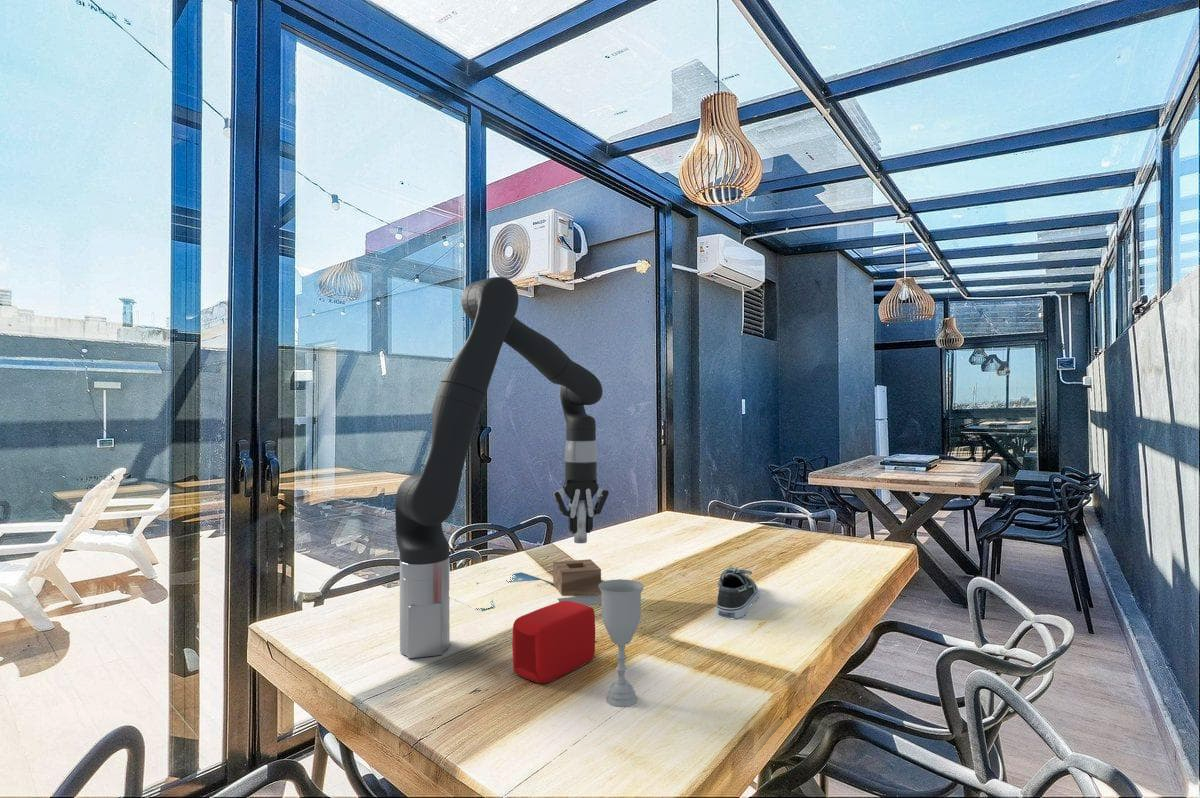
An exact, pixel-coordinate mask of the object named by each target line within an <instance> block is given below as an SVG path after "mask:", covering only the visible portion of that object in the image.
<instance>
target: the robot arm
mask: <svg viewBox="0 0 1200 798" xmlns="http://www.w3.org/2000/svg"><path fill="white" fill-rule="evenodd" d="M460 300H461V302H460V303H461V307H462V310H463V312H464V313H465V315H466V316H467V317H468V319H470V320H471V321H473V325H472V328H471V330H470V333H469V336H468V337H467V339H466V341H465V343H464V344H463V345H462V346H461V348H460V350H459V351H458V352H457V354H455V356H454V358H453V359H452V361H451V362H450V363H449V365H448V366H447V368H446V370H445V371H444V373H443V375H442V378H441V380H440V384H439V387H438V389H437V392H436V395H435V399H434V402H433V406H432V413H431V415H432V417H431V421H432V422H431V426H432V427H431V445H430V449H429V452H428V456H427V460H426V462H425V465H424V467H423V470H422V472H421V473H417V474H413V475H412V474H411V475H409V476H408V477H406V478H405V479H404V480H403V481H402V482H401V483H400V484H399V486H398V489H397V491H396V495H395V504H394V506H395V507H394V516H395V517H394V518H395V538H396V544H397V548H398V552H399V652H400V653H401V654H402V655H404V656H406V657H407V659H414V658H415V659H416V658H424V657H432V656H433V657H435V656H442V654H443V652H445V651H446V650H448V648H449V647H450V639H451V638H450V630H451V629H450V597H449V590H450V543H449V541H448V540H447V537H446V536H445V533H444V530H443V525H442V523H444V522H445V521H447V519H448V518H450V516H451V515H452V513H453V510H454V509H455V506H456V504H457V503H456V502H457V499H458V494H459V489H460V485H461V480H462V477H463V476H462V474H463V470H464V466H465V461H466V458H467V455H468V451H469V449H470V445H471V443H472V439H473V437H474V433H475V430H476V427H477V424H478V421H479V417H480V415H481V412H482V409H483V406H484V403H485V399H486V397H487V393H488V389H489V386H490V382H491V379H492V376H493V375H494V374H493V373H494V370H495V367H496V365H497V361H498V358H499V355H500V351H501V349H502V346H503V344H504V343H505V344H506V345H507V346H508V347H510V348H512V349H513V350H514V351H515V352H517V353H518V354H519V355H520V356H522V357H523V358H524V359H525V360H526V361H527V362H528V363H530V364H531V365H532V366H533V367H534V368H535V369H536V370H537V371H538V372H539V373H540V374H541V375H542V376H544V377H545V378H546V379H547V380H548V381H549V382H550V383H552V384H553V385H554V384H555V385H559V386H560V391H559V398H560V404H561V407H562V413H563V416H564V419H565V423H566V424H565V425H566V429H565V440H566V442H565V449H564V484H563V485H562V488H560V489H558V490H554V491H552V496H553V497H554V498H553V499H554V500H555V503H556V505H557V507H558V509H559V512H560V513H561V514H562V515H563V516H566V517H568V519H567V520H568V522H567V523H568V525H567V529H568V531H570V533H571V534H572V535H574V534H576V518H575V514H576V509H577V506H578V500H586V503H587V534H590V533H591V531H592V530H593V529H594V516H596V515H600V514H601V513H602V511H603V508H604V506H605V503H606V501H607V499H608V496H609V494H610V492H609V491H608V490H607V489H605V488H601V487H600V486H599V484H598V482H597V479H598V478H597V477H598V475H597V474H598V473H597V472H598V470H597V469H598V461H597V460H598V457H597V456H598V449H597V441H596V440H597V439H596V438H597V437H596V435H597V432H596V431H597V430H596V428H597V426H596V424H597V423H596V419H595V418H594V417H593V416H591V415H589V414H587V411H586V408H585V406H592V405H595V404H597V403H598V402H600V401H601V399H602V397H603V385H602V383H601V381H600V380H599V378H598V377H597V376H596V375H595V374H594V373H593V372H592V371H590V370H588V369H587V368H585V367H584V366H582V365H581V364H579V363H577V362H576V361H574V360H572V359H571V358H570V356H568V355H567V354H566V353H565V352H564V351H563V350H562V349H561V348H560V346H558V345H557V344H556V343H555V342H554V341H553V340H552V339H549V338H548V337H547V336H545V335H543V334H541V333H540V332H539V331H536V330H535V329H533V328H531V327H529V326H528V325H526V324H525V323H523V322H522V321H521V320H520V319H518V318H516V315H517V311H518V307H519V292H518V290H517V287H516V286H515V283H514V282H513V281H512V280H511V279H509V278H506V277H504V276H503V277H502V276H494V277H488V278H484V279H480V280H476V281H474V282H471V283H469V284H468V285H467V286H466V287H465V288H464V289H463V291H462V294H461V299H460ZM564 494H565V495H566V496H567V497H568V499H569V503H568V510H567V507H566V504H565V502H564V500H563V499H564V498H565V496H564ZM595 495H597V497H598V498H597V500H596V502H595V505H593V498H594V497H595ZM593 506H594V507H593Z"/></svg>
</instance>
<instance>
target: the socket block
mask: <svg viewBox="0 0 1200 798" xmlns="http://www.w3.org/2000/svg"><path fill="white" fill-rule="evenodd" d="M552 583H553V584H554V586H555V587H554V586H553V587H554V588H555V589H556V590H557V592H558V593H559V594H560V595H561V596H574V595H583V594H585V595H586V594H595V593H602V592H601V590H600V588H599V586H598V585H599V584H600V583H602V569H601V567H599V566H598V565H597V564H596V563H595V561H593V560H592V559H577V560H576V559H575V560H563V561H552Z"/></svg>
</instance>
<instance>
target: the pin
mask: <svg viewBox="0 0 1200 798" xmlns="http://www.w3.org/2000/svg"><path fill="white" fill-rule="evenodd" d="M575 518H576V534H573V543H574V544H586V543H588V533H587V503H586V500H578V506H577V509H576V514H575Z"/></svg>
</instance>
